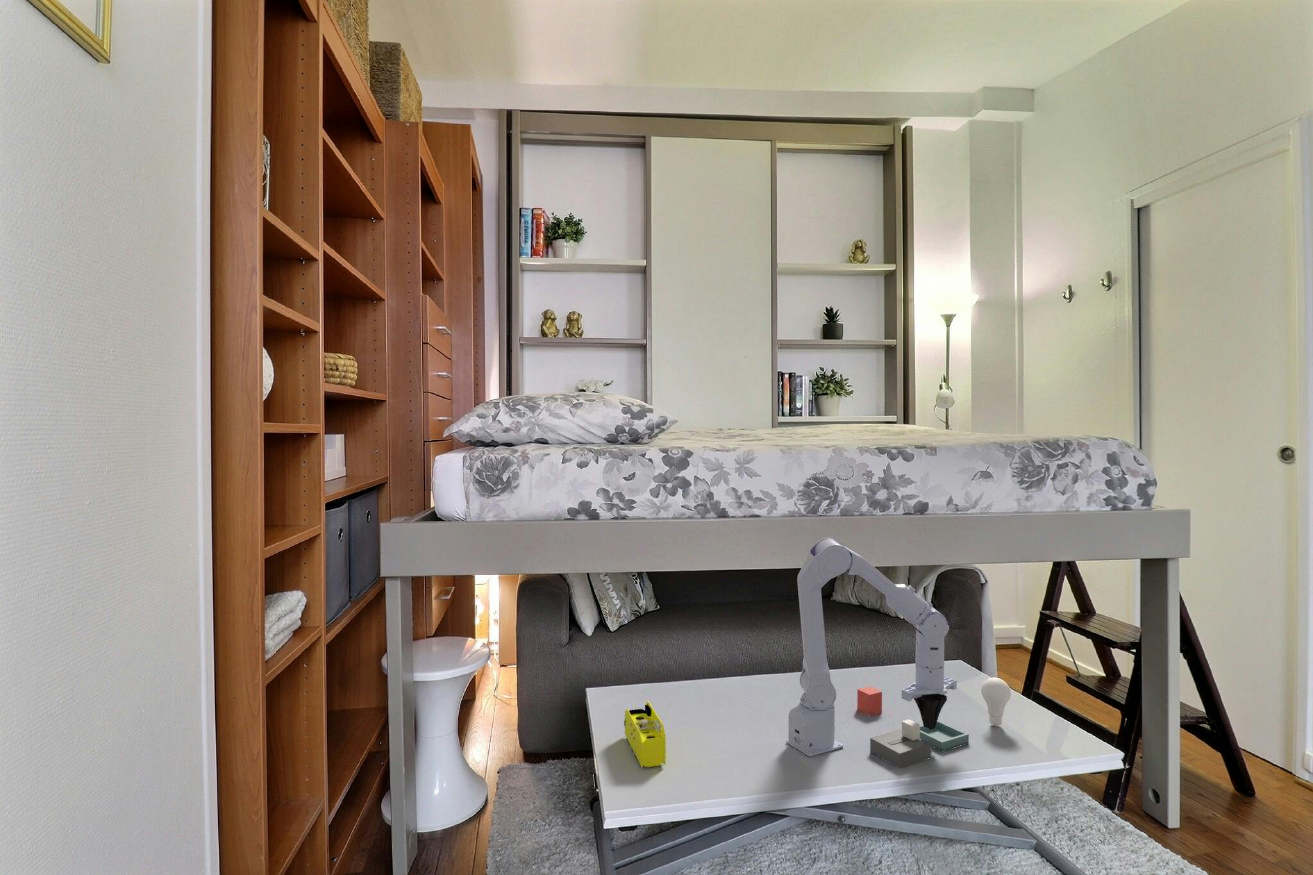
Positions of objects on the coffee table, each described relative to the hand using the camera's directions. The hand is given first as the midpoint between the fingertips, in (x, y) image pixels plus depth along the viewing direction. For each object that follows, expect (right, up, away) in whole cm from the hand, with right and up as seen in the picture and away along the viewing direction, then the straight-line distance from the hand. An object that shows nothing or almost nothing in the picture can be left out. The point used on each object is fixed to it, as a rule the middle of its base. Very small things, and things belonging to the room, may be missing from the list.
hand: (929, 727), depth 155 cm
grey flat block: (-8, -4, -4) cm, 9 cm away
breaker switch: (-5, -1, -3) cm, 6 cm away
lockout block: (-7, -4, +19) cm, 21 cm away
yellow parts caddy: (-61, -5, -2) cm, 61 cm away
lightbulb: (+19, -4, +10) cm, 22 cm away
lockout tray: (+3, -4, +3) cm, 6 cm away
